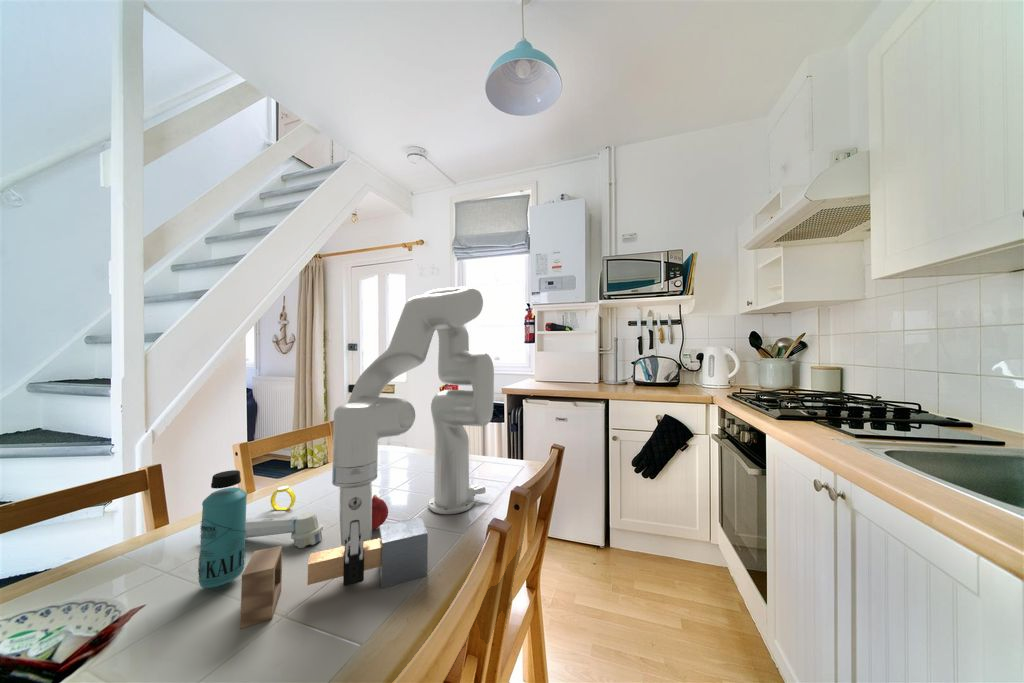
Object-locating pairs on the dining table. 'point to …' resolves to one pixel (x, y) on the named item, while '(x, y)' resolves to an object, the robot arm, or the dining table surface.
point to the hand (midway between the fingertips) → (353, 572)
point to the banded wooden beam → (341, 561)
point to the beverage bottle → (223, 531)
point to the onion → (378, 512)
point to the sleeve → (403, 551)
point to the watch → (282, 489)
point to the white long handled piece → (288, 528)
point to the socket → (261, 586)
